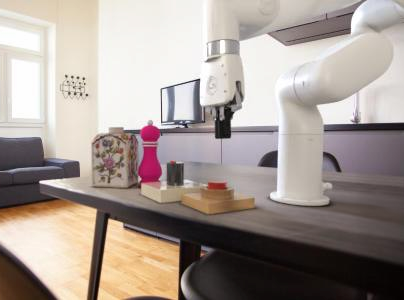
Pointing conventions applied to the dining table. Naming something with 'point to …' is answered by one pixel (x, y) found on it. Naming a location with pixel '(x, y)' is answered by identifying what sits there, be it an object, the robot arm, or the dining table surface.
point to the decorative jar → (114, 159)
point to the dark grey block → (175, 173)
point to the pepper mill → (150, 154)
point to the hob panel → (169, 190)
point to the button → (217, 184)
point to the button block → (217, 200)
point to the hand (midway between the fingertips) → (223, 138)
